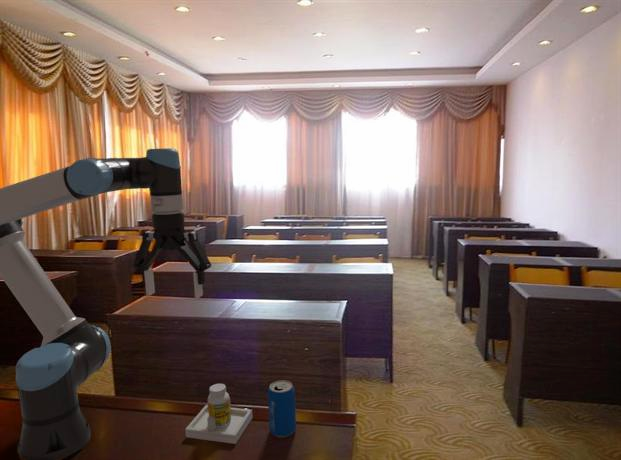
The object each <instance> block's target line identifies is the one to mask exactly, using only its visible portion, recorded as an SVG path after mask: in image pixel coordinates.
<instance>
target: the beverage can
mask: <svg viewBox="0 0 621 460" xmlns="http://www.w3.org/2000/svg"><path fill="white" fill-rule="evenodd" d="M295 392H296V389H295V387H294V386H293V382H291V381H289V380H284V379H282V380H281V379H280V380H279V379H278V380H275V381H273V382H272V383H270V385H269V388H268V390H267V402H268V404H267V405H268V422H269V423H268V424H269V425H268V426H269V431H270V433H271V434H272V435H273V436H275V437H277V438H286V437H289V436H291V435H292V434H294V433H295V431H296V429H297V419H296V418H297V416H296V413H297V412H296V393H295Z"/></svg>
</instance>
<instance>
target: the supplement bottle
mask: <svg viewBox="0 0 621 460" xmlns="http://www.w3.org/2000/svg"><path fill="white" fill-rule="evenodd" d="M208 392H209V395H208V397H207V405H208V412H209V416H214V417H215V425H216V428H223V427H226V426H227V425H228V424H229V423H230V422H231V413H230V407H231V398H230V395H229V393H228V392H227V386H226V385H225V384H224V383H215V384H213V385H211V386H209V391H208ZM229 398H230V399H229Z"/></svg>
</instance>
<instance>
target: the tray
mask: <svg viewBox="0 0 621 460" xmlns="http://www.w3.org/2000/svg"><path fill="white" fill-rule="evenodd" d="M229 399H230V400H231V397H229ZM230 413H231V422H230V423H229V424H228V425H227V426H226V427H223V428H216V425H215V417H214V416H209V412H208V404H205V405H204V407H203V408H202V409H201V410H200V412H198V414H196V416H195V417H194V418H193V420H192V421H191V422H190V423H189V424H188V426H186V428H185V438H189V439H197V440H203V441H210V442H211V441H213V442H220V443H227V444H232V445H233V444H234V445H236V444H237V443H238V441H239V440H240V439H241V437H242V435H243V434H244V432H245V430H246V429H247V427H248V426H249V424H250V423H251V421H252V419H253V409H248V408H247V409H245V408H239V407H231V406H230Z"/></svg>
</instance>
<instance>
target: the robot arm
mask: <svg viewBox="0 0 621 460" xmlns="http://www.w3.org/2000/svg"><path fill="white" fill-rule="evenodd" d="M179 155H180V154H179V151H178V150H177V149H176V148H173V147H172V148H169V147H168V148H149V149H147V150H146V154H145V156H144V157H110V158H109V157H108V158H95V157H87V158H83V159H78V160H76V161H74V162H73V163H72V164H71V165H69V166H65V167H62V168H58V169H56V170H53V171H49V172H47V173H43V174H41V175H38V176H33V177H31V178H29V179H26V180H25V179H24V180H22V181H19V182H16V183H12V184H8V185H6V186H3V187H0V278H1V279H2V281H3V282H4V283H5V284H6V286H7V287H8V289H9V290H10V292H11V293H12V294H13V296H14V297H15V299H16V300H17V301H18V303H19V304H20V306H21V307H22V308H23V310H24V311H25V312H26V314H27V315H28V317H29V318H30V320H31V321H32V322H33V324H34V325H35V327H36V328H37V330H38V331H39V332H40V334H41V335H42V337H43V338H42V341H41V345H40V347H35V348H33V349H31V350H29V351H27V352H26V353H24V354H23V355H22V356H21V357H20V358H19V360H17V363H16V365H15V383H16V386H17V392H18V400H19V406H20V412H21V418H22V427H21V432H20V437H19V439H20V440H19V441H18V444H17V454H19V456H20V457H21V458H23V459H26V460H54V459H59V458H62V457H65V456H68V455H70V454H73V453H75V452H77V451H79V450H80V449H81V450H83V449H84V448H85V447H86V446H87V445H88V443H89V441H90V439H91V435H92V434H91V428H90V425H89V423H88V421H87V420H86V417H85V415H84V413H83V412H82V410H81V408H80V404H79V396H78V388H79V387H80V386H82V384H83V383H85V382H86V380H88V379H89V378H90V377H91V376H92V375H93V374H94V373H96V372H98V371H99V370H100V369H101V368H102V367H103V366H104V364H105V363H106V362H107V360H108V359H109V356H110V353H111V349H112V347H111V341H110V338H109V336H108V334H107V333H106V331H104V329H102V328H101V327H99V326H98V327H96V326H95V325H91V324H90V323H89V322H88V321H87V320H86V318H84V317H78V316H76V315H75V314H74V312H73V311H72V309H71V308H70V307H69V305H68V304H67V302H66V300H65V299H64V298H63V296H62V295H61V294H60V291H58V289H57V288H56V286H55V285H54V284H53V282H52V281H51V279H50V278H49V276H48V275H47V274H46V272H45V271H44V269H43V268H42V267H41V265H40V263H39V262H38V260H37V259H36V257H35V256H34V255H33V253H32V251H31V250H30V249H29V248H28V246H27V245H26V243H25V242H24V237H25V235H26V232H25V230H24V228H22V227H23V224H24V221H23V219H25V218H27V217H28V218H29V217H30V216H34V215H38V214H40V213H43V212H44V213H45V212H46V211H49V210H52V209H56V208H59V207H62V206H65V205H68V204H71V203H75V202H78V201H81V200H85V199H88V198H91V197H95V196H97V195H101V194H105V193H106V194H107V193H111V192H117V191H123V190H138V189H140V190H141V189H149V195H150V196H149V198H150V210H151V212H152V214H151V218H152V219H151V221H152V228H153V231H152V230H146V231H143V232H142V234H141V237H142V240H141V243H140V246H139V249H138V251H137V254H136V257H135V260H134V262H133V267H134V268H138V269H140V270H141V278H142V282H143V283H145V294H146V296H147V297H150V296H151V295H153V294H155V293H156V291H155V290H156V288H155V278H154V277H155V276H154V268H152V264H153V263H154V261H155V260H156V259H157V257H158V256H159V255H160V253H161V252H162V250H163V251H168V250H170V251H177V252H179V253H180V254H181V255H182V256H183V257H184V258H185V260H186V261H187V262H188V263H189V265H190V266H191V267H192V268H193V269H194V270H195V271H194V272H192V273H193V286H194V289H193V290H194V299H200V297H202V296H203V295H204V291H203V284H205V282H206V278H205V277H206V276H205V271H207V270H208V269H210V268H211V267H212V263H211V261H210V260H209V257H208V256H207V254H206V252H205V250H204V248H203V246H202V245H201V243H200V241H199V236H198V232H197V231H195V230H193V231H190V232H186V230H185V224H186V223H185V213H184V212H182V211H183V210H184V198H183V197H184V196H183V190H182V189H183V188H182V172H181V171H182V170H181V169H182V166H181V162H180V156H179ZM153 239H154V241H155V244H154V245H153V246H152V250H151V251H150V252H149V249H150V246H151V244H152V240H153ZM185 240H186V241H188V243H189V245H190V246H189V245H188V243H187V242H186V241H185ZM190 247H191V249H192V250H191V249H190ZM81 450H80V451H81ZM80 451H79V452H80ZM77 453H78V452H77Z"/></svg>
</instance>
